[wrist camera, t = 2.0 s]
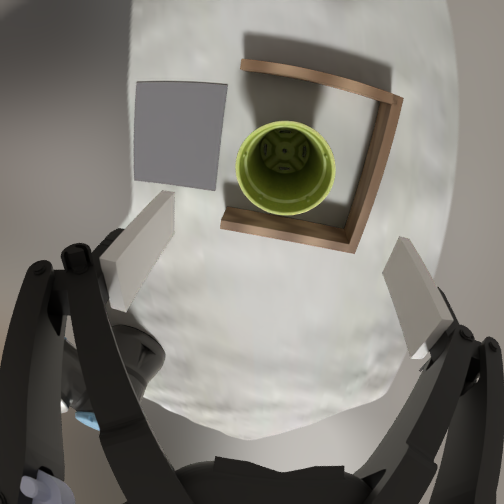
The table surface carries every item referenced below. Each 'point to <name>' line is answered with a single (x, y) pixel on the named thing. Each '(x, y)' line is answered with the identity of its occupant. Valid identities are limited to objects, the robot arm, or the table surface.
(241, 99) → the table surface
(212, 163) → the charcoal mat
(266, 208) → the plant pot
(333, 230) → the walnut bay
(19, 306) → the robot arm
